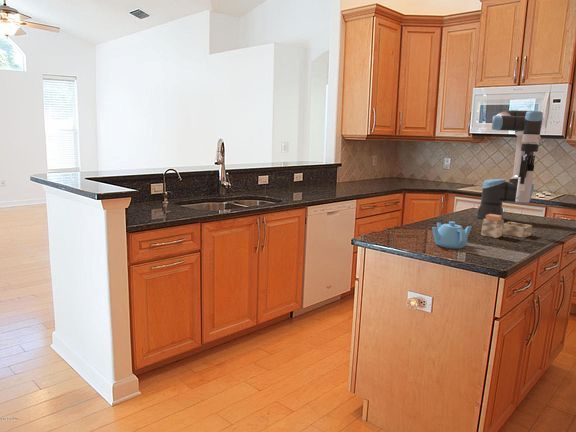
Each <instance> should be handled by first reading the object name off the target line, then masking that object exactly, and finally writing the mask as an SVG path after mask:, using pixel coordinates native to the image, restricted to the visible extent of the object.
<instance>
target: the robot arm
mask: <svg viewBox="0 0 576 432" xmlns="http://www.w3.org/2000/svg"><path fill="white" fill-rule="evenodd" d="M543 117H544V112H543V111H541V110H517V109H516V110H512V109H510V110H505V111H501V112H499V113H497V114H496V115H493V116H492V121H491V130H493V131H505V132H506V131H507V132H508V131H510V132H511V131H512V132H514V134H515V136H516V147H515V155H514V162H513V171H512V176H511V178H509V180H508V181H506V179H505V178H493V179H491V178H490V179H485V180H484V181H483V184H482V187H481V189H482V192H481V198H480V199H481V200H480V205H479V207H478V209H477V211H476V213H475V217H476V218H477V219H480V220H481V219H482V220H483V219H485V218H486V215H488V214H495V215H501V216H502V218H501V220H504V217H505V215H504V210H503V203H512V204H516V203H515V200H516V193H517V185H518V178H519V177H520V183H519V190H520V191H525V186H526V174H527V170H528V165H527V164H529V165H534V166H535V159H536V155H534V153H537V152H538V151H539V147H540V145H539V143H540V140H541V139H542V137H541V132H542V125H543V119H544V118H543ZM520 165H521V166H520ZM534 189H535V184H534V183H532V186H531V193H530V200H529V203H530V201H531V199H532V196H533V192H534Z"/></svg>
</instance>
